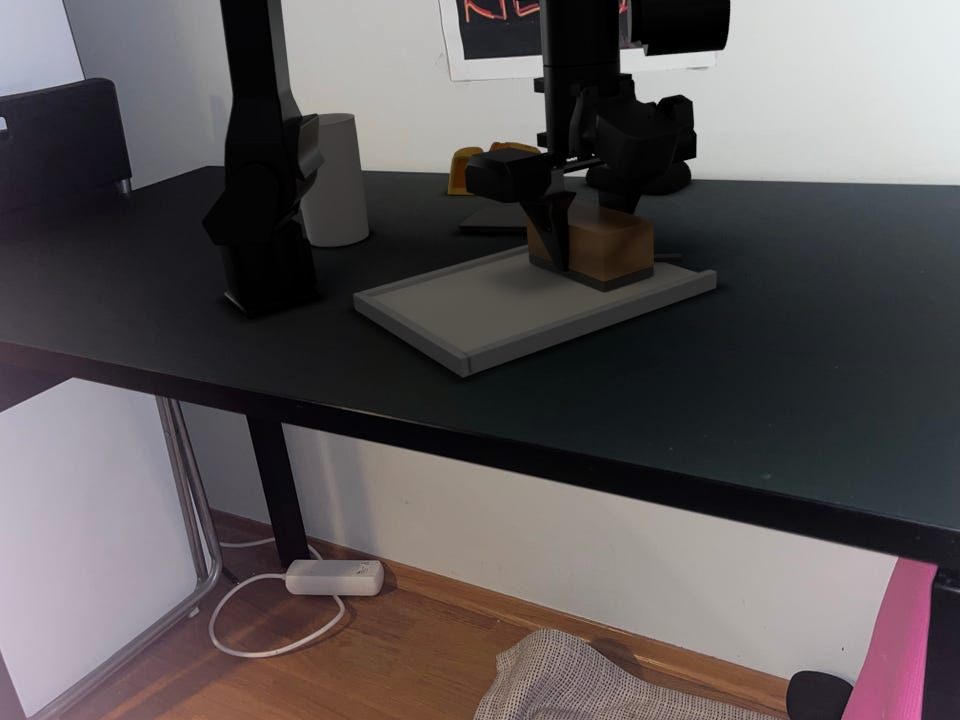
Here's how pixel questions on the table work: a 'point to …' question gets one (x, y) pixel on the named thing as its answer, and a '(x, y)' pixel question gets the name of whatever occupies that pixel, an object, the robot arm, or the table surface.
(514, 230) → the smartphone
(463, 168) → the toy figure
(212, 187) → the table surface
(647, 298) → the grey tray
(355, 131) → the mug
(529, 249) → the eraser
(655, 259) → the mark
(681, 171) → the computer mouse
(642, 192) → the robot arm
